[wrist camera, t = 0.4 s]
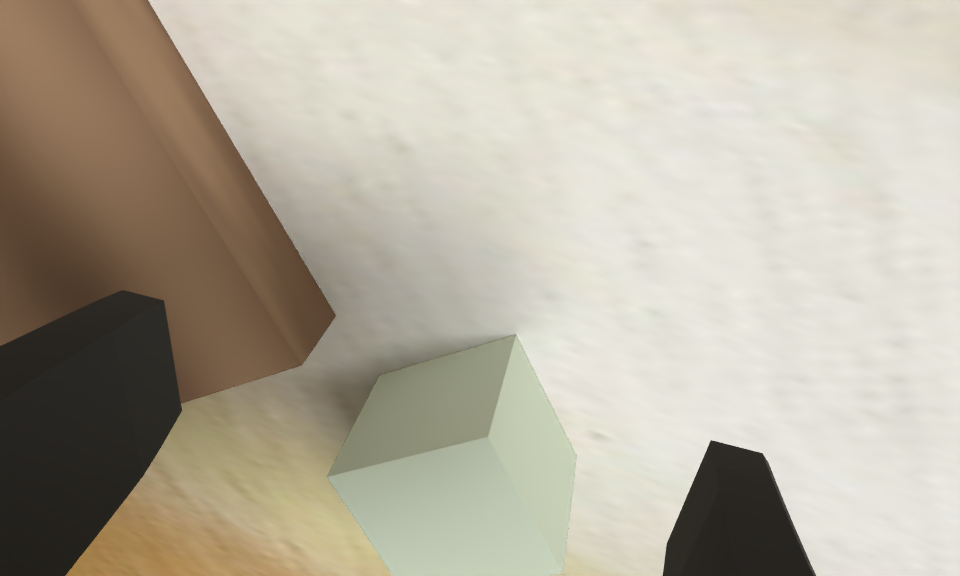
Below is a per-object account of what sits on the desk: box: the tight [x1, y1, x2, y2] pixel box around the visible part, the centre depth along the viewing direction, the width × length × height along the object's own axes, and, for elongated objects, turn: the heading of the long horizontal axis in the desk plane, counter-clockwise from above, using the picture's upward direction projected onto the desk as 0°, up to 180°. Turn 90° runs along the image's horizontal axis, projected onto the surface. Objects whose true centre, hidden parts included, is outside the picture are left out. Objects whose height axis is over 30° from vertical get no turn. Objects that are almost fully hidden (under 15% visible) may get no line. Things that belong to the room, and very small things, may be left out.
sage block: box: [327, 334, 577, 576], centre depth 21 cm, size 4×4×4 cm
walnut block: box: [0, 0, 336, 403], centre depth 21 cm, size 11×11×3 cm
